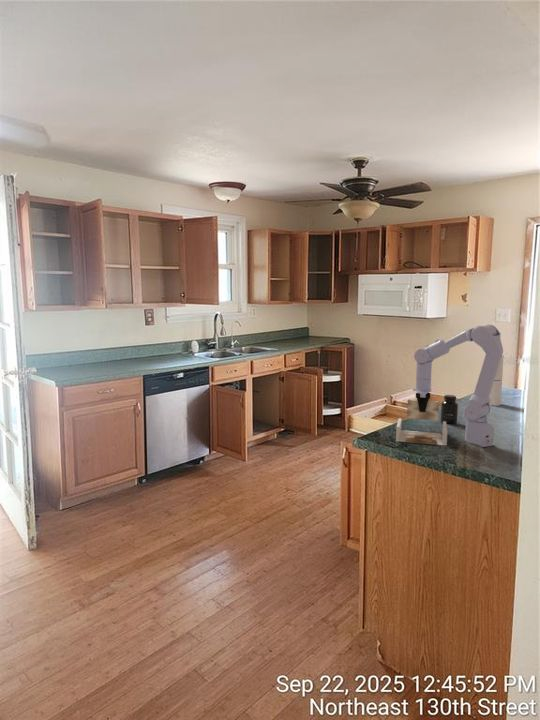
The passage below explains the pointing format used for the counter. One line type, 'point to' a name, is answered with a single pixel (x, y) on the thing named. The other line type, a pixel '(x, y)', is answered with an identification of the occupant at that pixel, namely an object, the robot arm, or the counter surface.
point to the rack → (436, 436)
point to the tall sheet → (429, 414)
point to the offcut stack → (421, 439)
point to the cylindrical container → (497, 386)
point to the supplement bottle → (449, 410)
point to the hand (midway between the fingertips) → (422, 411)
